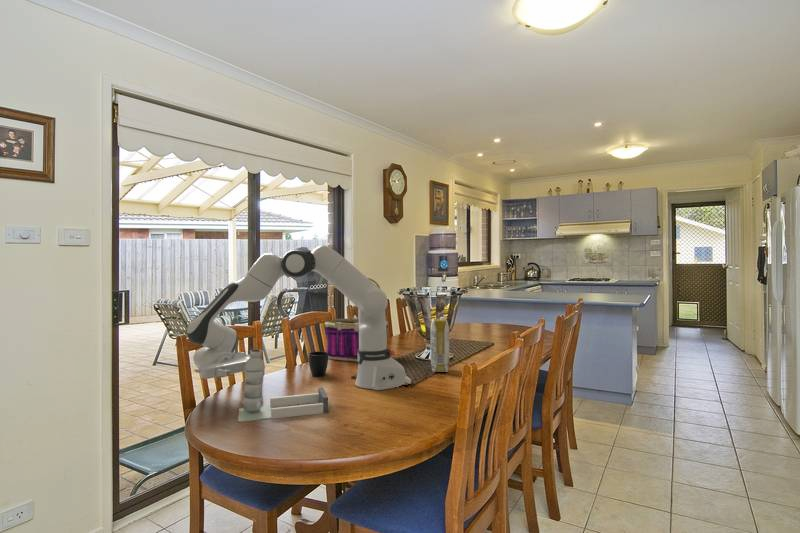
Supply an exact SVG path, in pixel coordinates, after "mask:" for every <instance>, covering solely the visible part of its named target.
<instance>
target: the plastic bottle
mask: <svg viewBox="0 0 800 533" xmlns="http://www.w3.org/2000/svg"><path fill="white" fill-rule="evenodd" d="M248 355H249V357H250V358H249V359H248V361H247V362H246V363H245V366H244V372H243V373H244V390H243V391H244V392H243V397H242V401H241V406H242V408H243V409H244V410H245V411H248V412H256V411H259V410H261V408H262V407H263V406H264V397H263V381H264V375H265V368H266V364H265V363H264V361H263V359H262V358H261V357H262V350H261V349H257V348H256V349H255V348H254V349H250V350H249V354H248Z"/></svg>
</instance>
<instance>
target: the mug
mask: <svg viewBox="0 0 800 533" xmlns="http://www.w3.org/2000/svg"><path fill="white" fill-rule="evenodd" d="M328 364H329V359H328V352H327V351H323V350H322V351H320V350H319V351H311V352H309V353H308V365H309V366H308V367H309V370H310V374H311V376H312V377H314V378H315V377H316V378H320V377H324V376H326V372H327V369H328Z"/></svg>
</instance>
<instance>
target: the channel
mask: <svg viewBox="0 0 800 533" xmlns="http://www.w3.org/2000/svg"><path fill="white" fill-rule="evenodd" d="M308 403H309V404H308ZM297 404H299V405H297ZM269 405H270V408H271V419H272V420H274V419H282V418H291V417H299V416H300V417H301V416H308V415H310V416H311V415H317V414H326V413H329V396H328V394H327V393H326V391H325V389H324V387H323V386H322V387H321V386H320V387H319V386H318V391H317V392H315V393H306V394H305V393H304V394H295V395H283V396H275V397H269ZM289 405H290V406H289Z"/></svg>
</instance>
